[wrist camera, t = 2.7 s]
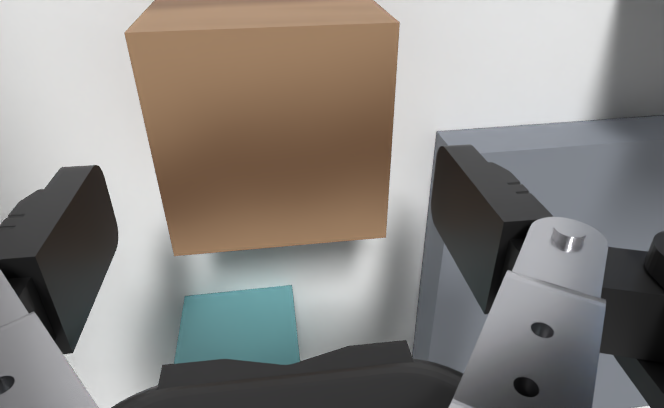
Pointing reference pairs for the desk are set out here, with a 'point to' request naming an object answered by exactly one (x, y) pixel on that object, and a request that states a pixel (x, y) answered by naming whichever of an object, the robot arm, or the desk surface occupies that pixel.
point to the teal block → (239, 327)
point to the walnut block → (268, 119)
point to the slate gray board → (561, 201)
